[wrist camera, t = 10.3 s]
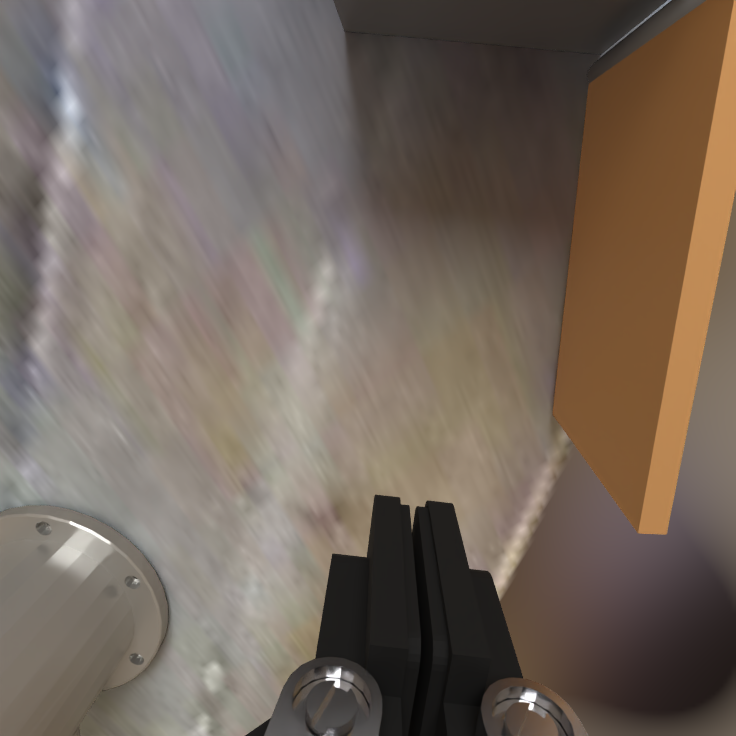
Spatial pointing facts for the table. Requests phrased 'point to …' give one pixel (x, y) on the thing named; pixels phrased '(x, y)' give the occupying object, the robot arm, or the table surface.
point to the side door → (648, 249)
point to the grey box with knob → (501, 21)
